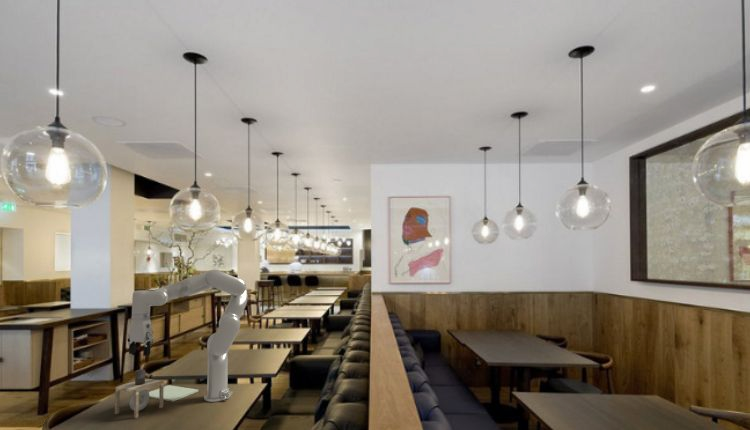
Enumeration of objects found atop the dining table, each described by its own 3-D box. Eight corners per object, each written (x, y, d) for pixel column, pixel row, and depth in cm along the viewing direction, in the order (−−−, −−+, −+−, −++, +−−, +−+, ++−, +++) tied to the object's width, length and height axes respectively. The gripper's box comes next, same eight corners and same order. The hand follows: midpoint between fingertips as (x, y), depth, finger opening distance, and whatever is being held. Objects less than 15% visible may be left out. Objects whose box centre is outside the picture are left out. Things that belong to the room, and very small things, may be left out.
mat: (198, 391, 222) (198, 389, 222) (172, 401, 208) (172, 399, 208) (168, 386, 231) (168, 385, 231) (141, 396, 217) (141, 394, 217)
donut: (133, 415, 192) (133, 392, 192) (127, 414, 193) (127, 391, 193) (151, 407, 201) (151, 385, 202) (145, 406, 202) (145, 384, 203)
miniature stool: (163, 407, 200) (163, 368, 202) (135, 418, 188) (136, 376, 189) (142, 403, 206) (143, 365, 207) (114, 413, 193) (115, 373, 195)
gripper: (160, 316, 200) (159, 354, 199) (135, 315, 207) (134, 350, 206) (146, 319, 193) (145, 357, 192) (121, 317, 200) (119, 354, 199)
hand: (139, 354), depth 199 cm, fingers open, 9 cm apart
